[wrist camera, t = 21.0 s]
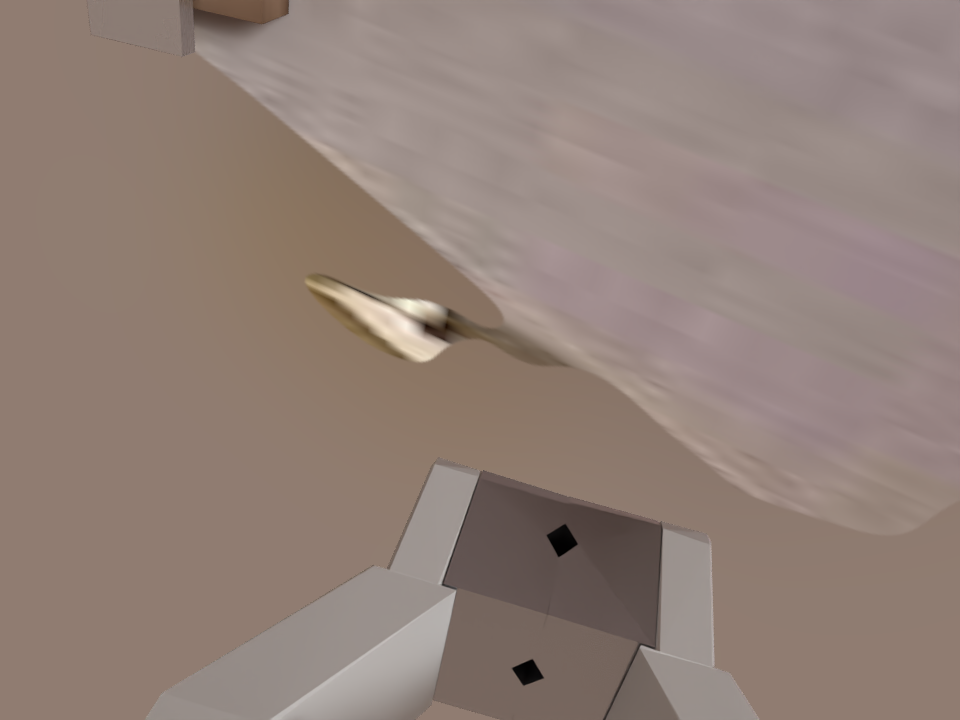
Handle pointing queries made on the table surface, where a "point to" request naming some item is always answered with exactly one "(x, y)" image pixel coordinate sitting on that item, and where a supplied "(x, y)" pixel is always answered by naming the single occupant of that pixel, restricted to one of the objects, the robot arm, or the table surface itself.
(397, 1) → the table surface
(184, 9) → the latch bar
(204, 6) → the walnut holder
